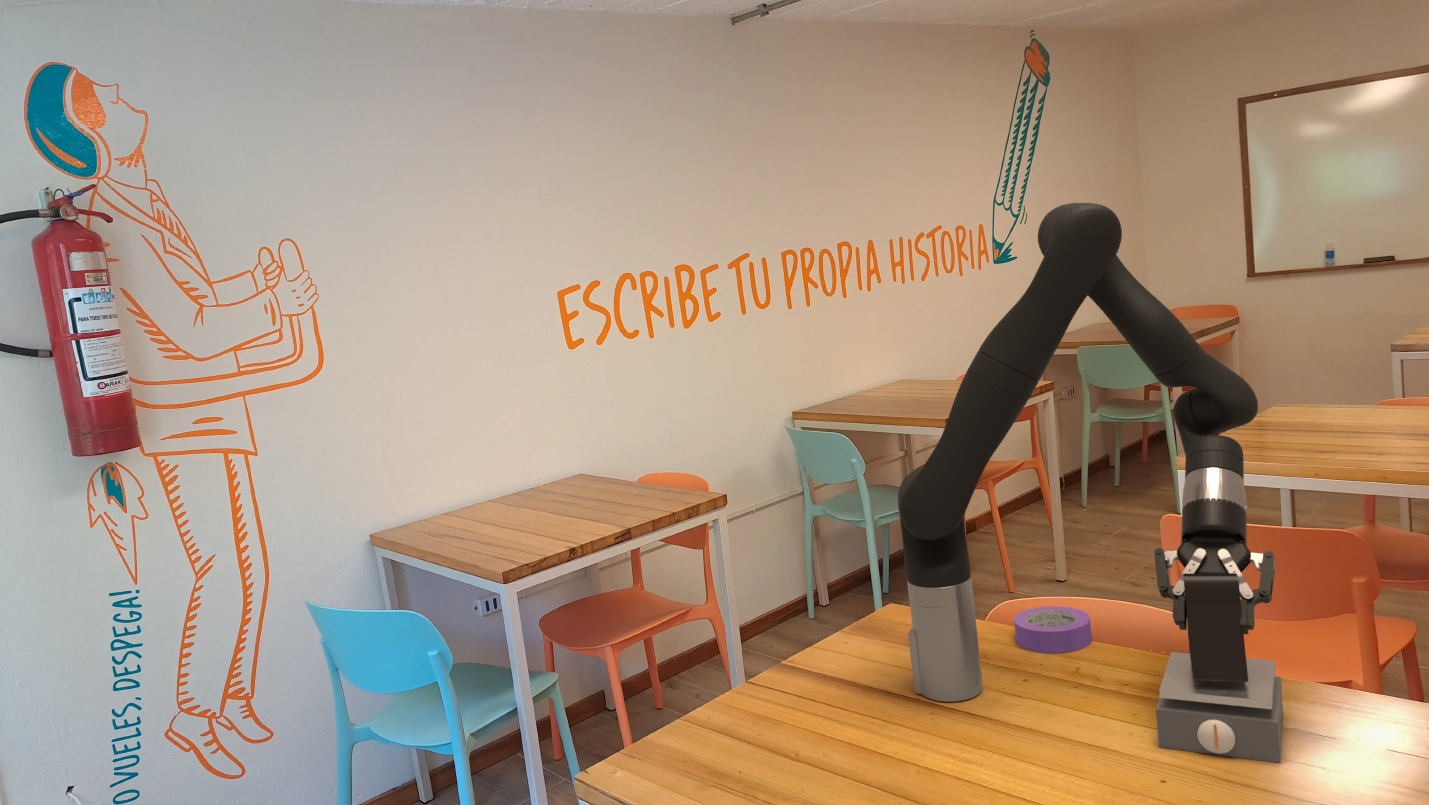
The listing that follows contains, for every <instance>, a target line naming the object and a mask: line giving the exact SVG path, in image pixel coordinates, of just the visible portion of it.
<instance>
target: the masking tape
mask: <svg viewBox="0 0 1429 805" xmlns="http://www.w3.org/2000/svg"><path fill="white" fill-rule="evenodd" d="M1090 618H1091V617H1090V616H1089V614H1088V613H1087V612H1085V611H1083V610H1082V609H1081V610H1080V609H1077V608H1074V607H1069V606H1058V605H1057V606H1056V605H1052V606H1037V607H1034V608H1029V609H1025V610H1023V611H1020V612H1018V613H1017V614H1016V615H1015V616H1014V618H1013V624H1014V632H1015V633H1014V634H1015V641H1016V643H1017V645H1018V646H1019V647H1021V648H1023V649H1025V650H1028V651H1030V652H1035V653H1040V654H1055V655H1056V654H1069V653H1072V652H1073V653H1074V652H1078V651H1080V650H1083V649H1084V648H1085V649H1086V648H1087V647H1089V646H1090V645H1091V644H1092V641H1093V635H1092V625H1091V619H1090Z"/></svg>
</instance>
